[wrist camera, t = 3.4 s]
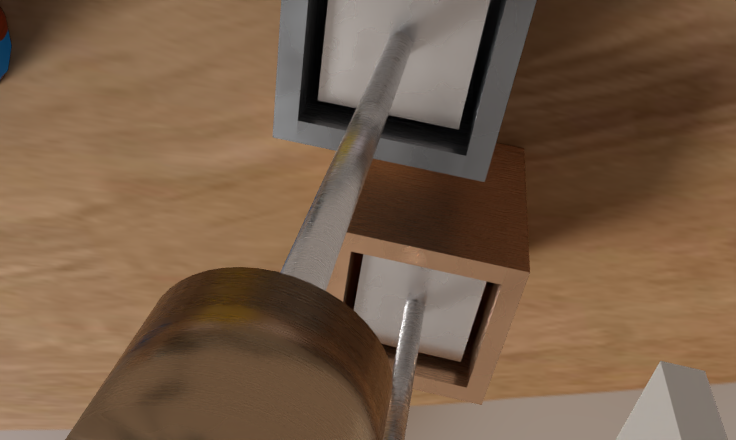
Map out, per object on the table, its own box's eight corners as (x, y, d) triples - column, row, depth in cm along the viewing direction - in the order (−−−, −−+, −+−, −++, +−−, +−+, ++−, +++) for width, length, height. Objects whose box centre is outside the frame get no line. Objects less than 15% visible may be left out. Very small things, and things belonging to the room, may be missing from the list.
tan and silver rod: (337, -54, 25) (-39, 309, 8) (494, -24, 24) (467, 429, 7) (322, 92, 28) (37, 570, 11) (459, 121, 28) (385, 661, 11)
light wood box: (375, 117, 39) (332, 229, 29) (523, 148, 39) (529, 272, 29) (350, 270, 46) (308, 402, 36) (476, 298, 46) (468, 440, 36)
